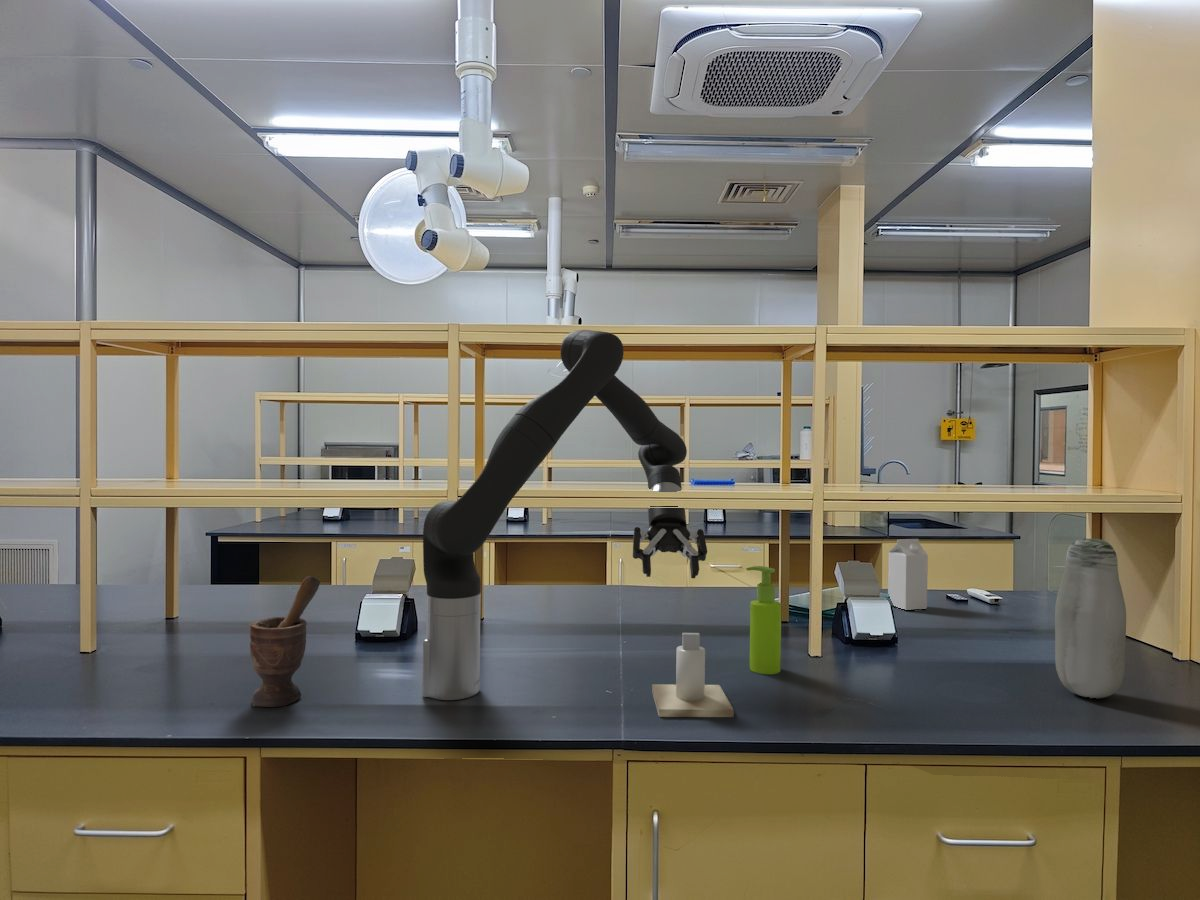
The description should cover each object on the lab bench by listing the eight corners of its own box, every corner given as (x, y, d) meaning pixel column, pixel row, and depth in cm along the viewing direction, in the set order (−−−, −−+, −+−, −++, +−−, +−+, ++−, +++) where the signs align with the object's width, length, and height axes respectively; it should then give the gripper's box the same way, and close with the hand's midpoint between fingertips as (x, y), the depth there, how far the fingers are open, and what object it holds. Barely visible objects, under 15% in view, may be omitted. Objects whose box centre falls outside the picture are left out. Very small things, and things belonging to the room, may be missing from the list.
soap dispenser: (753, 662, 144) (754, 563, 144) (785, 669, 139) (786, 567, 139) (739, 668, 139) (740, 567, 139) (772, 676, 135) (773, 571, 135)
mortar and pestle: (281, 684, 127) (283, 572, 127) (325, 687, 125) (327, 574, 125) (237, 707, 116) (239, 584, 115) (285, 711, 114) (287, 587, 114)
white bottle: (677, 701, 118) (678, 637, 118) (674, 691, 122) (675, 629, 122) (706, 701, 118) (707, 637, 118) (701, 691, 123) (702, 630, 123)
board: (659, 716, 114) (659, 709, 114) (651, 691, 126) (651, 684, 126) (733, 717, 114) (733, 709, 114) (719, 691, 126) (719, 684, 126)
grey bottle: (1111, 710, 120) (1114, 544, 119) (1045, 692, 128) (1047, 537, 128) (1133, 698, 125) (1135, 540, 125) (1068, 682, 134) (1070, 534, 134)
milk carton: (887, 606, 198) (888, 537, 198) (908, 604, 200) (909, 537, 200) (905, 611, 191) (906, 541, 191) (927, 610, 193) (928, 540, 193)
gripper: (633, 496, 142) (635, 562, 131) (703, 498, 143) (712, 564, 131) (630, 520, 148) (632, 585, 136) (698, 522, 148) (706, 587, 137)
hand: (671, 575), depth 134 cm, fingers open, 8 cm apart
